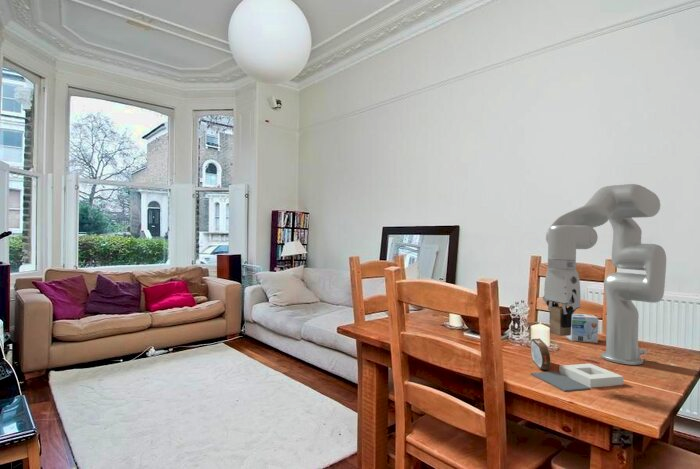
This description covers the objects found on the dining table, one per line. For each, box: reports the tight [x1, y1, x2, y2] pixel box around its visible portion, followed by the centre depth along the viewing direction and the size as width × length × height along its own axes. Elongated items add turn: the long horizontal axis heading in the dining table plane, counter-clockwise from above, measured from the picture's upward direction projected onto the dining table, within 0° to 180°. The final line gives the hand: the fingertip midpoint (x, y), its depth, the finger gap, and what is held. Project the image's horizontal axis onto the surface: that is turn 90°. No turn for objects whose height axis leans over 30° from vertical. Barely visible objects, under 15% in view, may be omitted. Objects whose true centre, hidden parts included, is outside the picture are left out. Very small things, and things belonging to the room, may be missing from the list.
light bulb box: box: [565, 313, 599, 344], centre depth 169 cm, size 11×7×11 cm, turn 81°
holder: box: [558, 363, 624, 389], centre depth 122 cm, size 12×12×2 cm
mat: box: [530, 370, 591, 393], centre depth 119 cm, size 9×14×1 cm, turn 14°
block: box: [549, 305, 571, 337], centre depth 119 cm, size 4×4×8 cm
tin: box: [530, 338, 551, 371], centre depth 134 cm, size 15×3×8 cm, turn 168°
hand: (560, 324), depth 119 cm, fingers closed on block, 4 cm apart
